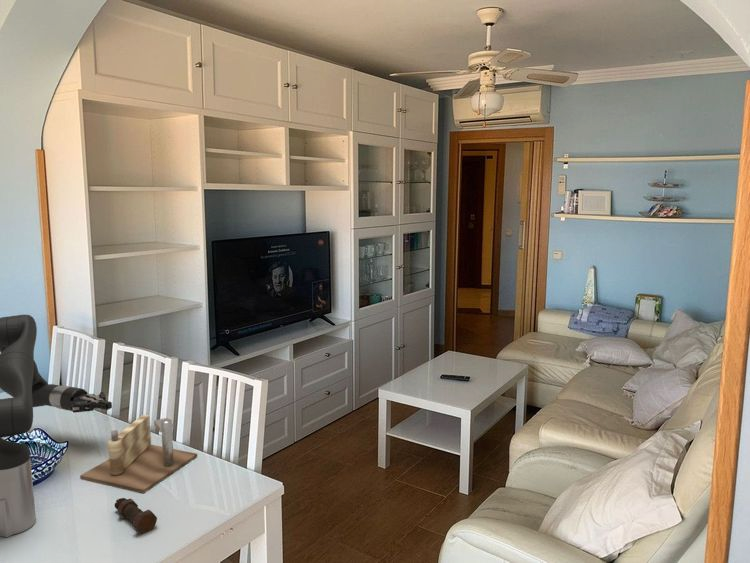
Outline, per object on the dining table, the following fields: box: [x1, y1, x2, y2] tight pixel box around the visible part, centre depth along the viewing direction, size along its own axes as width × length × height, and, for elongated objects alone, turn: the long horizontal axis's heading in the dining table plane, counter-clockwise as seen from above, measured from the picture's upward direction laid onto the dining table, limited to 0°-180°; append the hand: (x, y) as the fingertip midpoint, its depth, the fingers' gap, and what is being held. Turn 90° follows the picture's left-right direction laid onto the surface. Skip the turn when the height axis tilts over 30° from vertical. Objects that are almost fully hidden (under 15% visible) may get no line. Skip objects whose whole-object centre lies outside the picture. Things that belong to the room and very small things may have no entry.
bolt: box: [114, 497, 158, 535], centre depth 150 cm, size 6×5×15 cm
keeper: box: [153, 417, 175, 467], centre depth 178 cm, size 4×8×14 cm, turn 35°
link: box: [107, 414, 152, 475], centre depth 180 cm, size 21×4×10 cm, turn 175°
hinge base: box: [79, 429, 198, 494], centre depth 177 cm, size 24×23×14 cm
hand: (110, 405), depth 185 cm, fingers closed
